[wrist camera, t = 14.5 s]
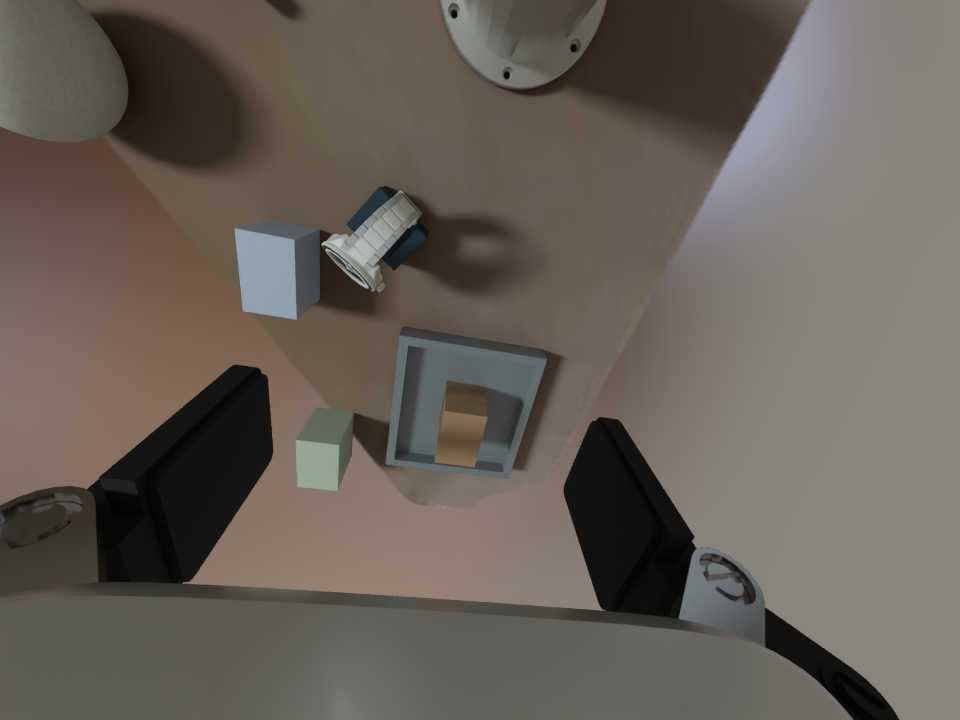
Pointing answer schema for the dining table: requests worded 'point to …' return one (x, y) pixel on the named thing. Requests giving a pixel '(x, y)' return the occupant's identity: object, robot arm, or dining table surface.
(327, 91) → the dining table surface
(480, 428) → the walnut brick
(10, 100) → the ball
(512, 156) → the dining table surface
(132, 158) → the dining table surface
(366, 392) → the dining table surface
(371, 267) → the watch
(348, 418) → the sage brick
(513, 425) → the tray
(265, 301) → the dusty blue brick
